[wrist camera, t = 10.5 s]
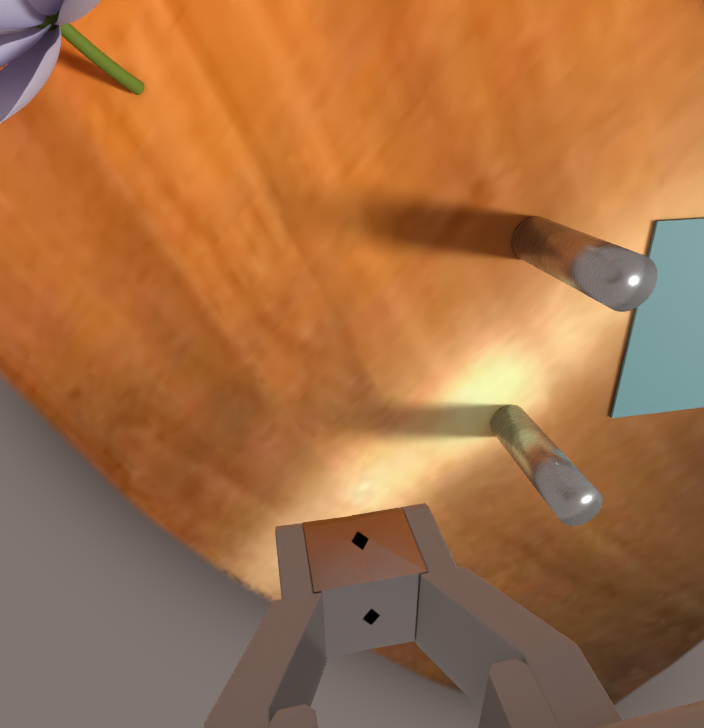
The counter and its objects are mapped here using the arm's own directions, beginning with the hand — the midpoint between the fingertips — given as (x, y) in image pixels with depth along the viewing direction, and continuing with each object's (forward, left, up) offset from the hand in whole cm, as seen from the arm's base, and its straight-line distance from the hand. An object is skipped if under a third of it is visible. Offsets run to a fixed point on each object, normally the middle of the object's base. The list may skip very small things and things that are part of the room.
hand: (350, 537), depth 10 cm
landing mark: (+6, +30, -21) cm, 37 cm away
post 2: (+12, +15, -21) cm, 29 cm away
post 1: (0, +15, -21) cm, 26 cm away
